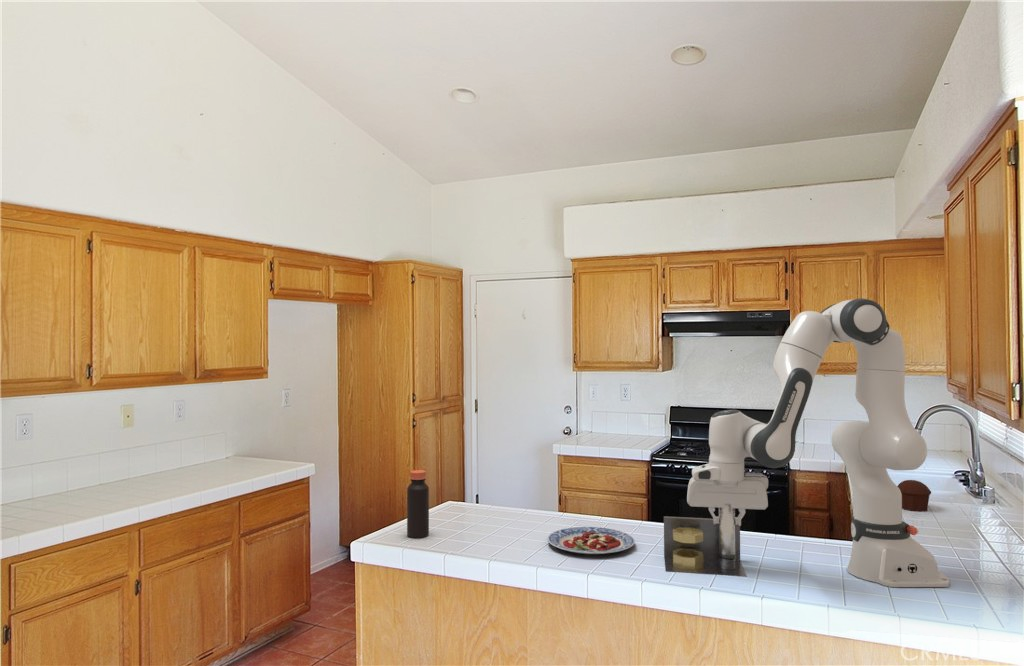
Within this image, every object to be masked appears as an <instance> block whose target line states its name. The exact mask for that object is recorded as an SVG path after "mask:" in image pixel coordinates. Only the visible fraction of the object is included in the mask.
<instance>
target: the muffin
mask: <svg viewBox="0 0 1024 666" xmlns="http://www.w3.org/2000/svg"><path fill="white" fill-rule="evenodd" d="M897 486H898V488H899V489H900V491H901V494H902V510H904V511H907V512H908V511H909V512H921V513H923V512H928V508H929V501H930V500H929V499H930V495H931V494H932V491H931V490H930V488H929V487H928V486H927V485H926V484H925V483H923V482H922V481H919V480H915V479H905V480H903V481H901V482H900V483H898V485H897Z"/></svg>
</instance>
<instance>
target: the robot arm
mask: <svg viewBox="0 0 1024 666" xmlns="http://www.w3.org/2000/svg"><path fill="white" fill-rule="evenodd" d="M890 327H891V326H890V324H889V322H888V321H887V316H886V313H885V310H884V308H883V307H882V306H881V305H880V304H879V303H877V302H876V301H874V300H872V299H868V298H863V297H862V298H855V299H846V300H842V301H839V302H838V303H834V304H831V305H829V306H828V307H826V308H824V309H823V310H821V311H820V312H819V311H813V310H805V311H802V312H801V311H800V313H798V314H797V315H796V316H795V317H794V319H793V320H792V322H791V323H790V325H789V326H788V328H787V329H786V330H785V333H784V335H783V336H782V339H781V340H780V343H779V344H778V347H777V349H776V352H775V355H774V358H773V364H772V368H773V372H774V373H775V376H776V377H777V378H778V381H779V383H780V394H779V397H778V400H777V403H776V405H775V408H774V410H773V413H772V416H771V418H770V420H769V421H768V422H767V423H764V422H761V421H759V420H757V419H753V418H752V417H749V416H747V415H746V414H744V413H743V412H741V410H738V409H724V410H720V411H716V412H715V413H714V414H712V416H711V417H710V420H709V429H708V445H709V449H710V454H709V456H708V463H706V464H702V465H698V466H694V467H692V469H691V475H692V476H691V478H690V479H689V480H688V481H689V482H688V485H687V491H686V492H687V493H686V494H687V495H686V502H687V505H689V507H695V508H696V507H697V508H700V507H701V508H708V511H709V513H710V515H711V517H712V519H713V524H719V515H718V516H716V515H715V513H714V512H715V511H716V508H718V509H719V508H723V507H724V504H731V507H732V508H735V509H738V512H739V514H738V515H737V516H735V525H738V526H740V527H741V526H742V519H743V518H744V516H745V514H746V510H764V511H765V510H766V509H767V508H768V507H769V500H768V493H767V490H768V488H769V479H768V476H767V475H765V474H763V473H761V472H749V471H748V472H747V471H746V472H745V459H746V458H752V459H754V460H755V461H757V462H758V463H759V464H760V465H762V466H764V467H766V468H769V469H778V468H782V467H785V466H786V465H787V464H788V463H790V462H791V460H792V459H793V457H794V456H795V452H796V435H797V430H798V426H799V424H800V422H801V419H802V416H803V414H804V410H805V408H806V405H807V402H808V399H809V396H810V393H811V391H812V386H813V382H814V381H815V380H814V379H815V376H816V375H817V372H818V370H819V367H820V366H821V363H822V361H823V359H824V356H825V354H826V352H827V349H828V348H829V346H830V345H831V344H832V343H845V344H846V343H848V344H849V343H852V344H853V346H854V347H855V351H856V355H857V361H856V372H855V373H856V376H855V377H856V379H855V394H854V395H855V399H856V401H857V402H858V404H860V405H861V406H862V407H863V409H864V410H865V412H866V415H867V418H868V421H862V420H853V421H846V422H843V421H842V422H841V423H838V425H836V426H835V427H834V429H833V431H832V433H831V445H832V448H833V450H834V451H835V453H836V454H837V455H838V456H839V457H840V458H841V459H840V460H842V462H843V464H844V466H845V468H846V471H847V473H848V476H849V479H850V484H851V488H852V502H853V503H852V505H853V506H852V507H853V515H852V516H851V523H850V530H851V531H850V533H851V537H852V544H851V545H852V546H851V553H850V559H849V562H848V565H847V568H846V570H847V572H848V573H850V574H851V575H853V576H854V577H857V578H859V579H862V580H865V581H870V582H872V583H873V582H874V583H877V584H880V585H882V586H885V587H890V588H948V587H949V586H950V580H949V578H948V577H947V576H946V575H945V574H944V573H943V572H942V571H939V567H938V563H937V560H936V558H935V556H934V555H933V554H932V552H930V551H929V550H928V549H927V548H926V547H924V546H923V545H921V544H920V543H919V542H917V540H915V539H914V538H913V537H911V536H916V535H917V534H919V533H918V532H919V528H918V529H917V527H916V526H914V525H910V524H909V523H907V522H905V521H903V509H902V494H901V491H900V489H899V488H898V485H897V484H896V483H895V482H894V481H893V480H892V478H891V477H890V474H889V473H888V470H892V471H914V470H917V469H919V468H920V467H921V466H922V465H923V464H924V462H925V461H926V459H927V456H928V447H927V443H926V441H925V438H924V437H923V436H922V435H921V433H919V432H918V431H917V430H916V429H915V427H914V426H913V424H912V421H911V420H910V417H909V414H908V411H907V407H906V403H905V401H906V400H905V379H906V377H905V376H906V357H905V347H904V346H905V345H904V341H903V337H902V334H900V333H899V332H897V330H894V329H891V328H890Z"/></svg>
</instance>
